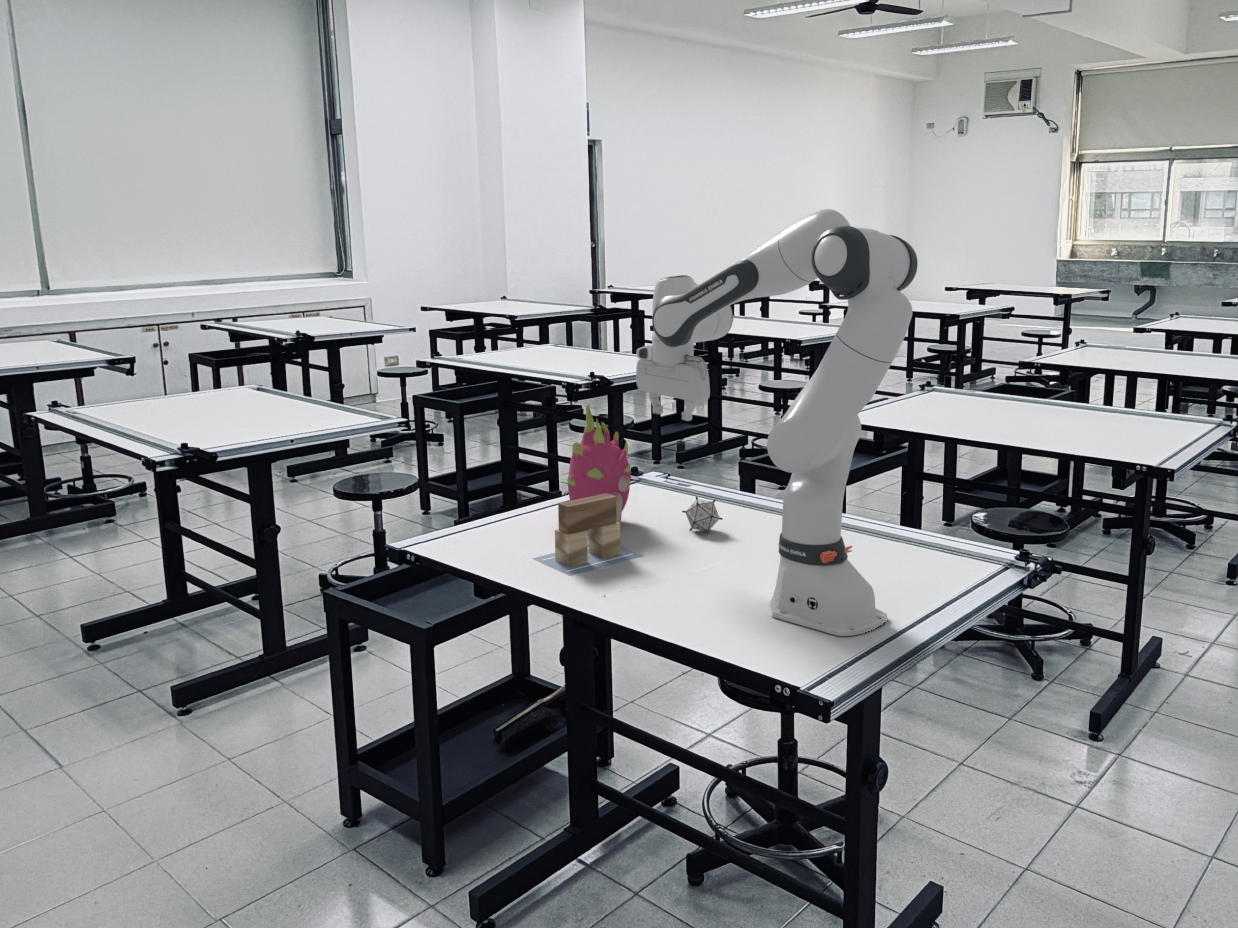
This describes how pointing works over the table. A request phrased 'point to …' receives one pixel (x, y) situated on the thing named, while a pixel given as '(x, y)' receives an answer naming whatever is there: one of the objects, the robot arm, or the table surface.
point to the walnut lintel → (587, 513)
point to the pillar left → (571, 548)
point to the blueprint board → (592, 563)
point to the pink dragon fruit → (599, 466)
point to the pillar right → (605, 540)
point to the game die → (702, 515)
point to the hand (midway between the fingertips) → (672, 416)
